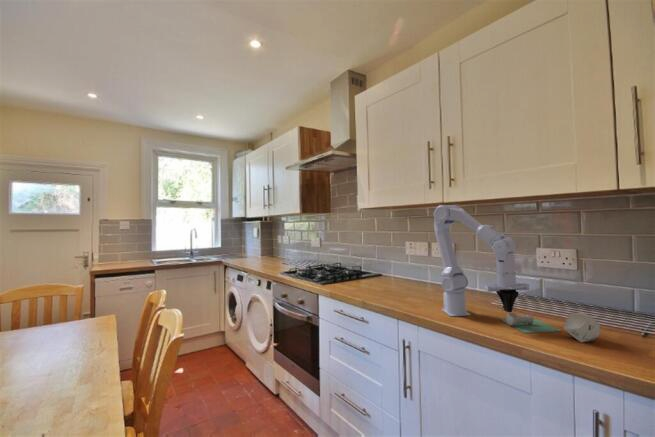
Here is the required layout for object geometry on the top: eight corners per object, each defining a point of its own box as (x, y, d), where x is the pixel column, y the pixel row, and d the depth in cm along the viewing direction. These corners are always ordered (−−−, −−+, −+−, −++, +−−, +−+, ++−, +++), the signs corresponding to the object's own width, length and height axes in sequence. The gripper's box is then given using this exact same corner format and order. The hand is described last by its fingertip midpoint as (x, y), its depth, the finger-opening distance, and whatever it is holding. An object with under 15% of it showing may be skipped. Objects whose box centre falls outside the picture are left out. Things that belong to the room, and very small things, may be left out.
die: (561, 342, 92) (579, 322, 87) (555, 320, 99) (572, 301, 93) (591, 353, 90) (612, 334, 85) (583, 330, 97) (602, 311, 91)
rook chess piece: (506, 310, 107) (528, 310, 108) (504, 321, 108) (525, 321, 109) (514, 316, 103) (537, 317, 103) (512, 328, 104) (534, 328, 104)
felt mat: (500, 319, 113) (500, 319, 113) (532, 318, 113) (532, 317, 113) (524, 333, 99) (524, 332, 99) (561, 331, 99) (561, 330, 99)
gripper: (491, 275, 102) (494, 315, 102) (534, 273, 102) (536, 313, 102) (480, 272, 109) (483, 309, 109) (520, 269, 109) (523, 307, 109)
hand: (508, 311), depth 106 cm, fingers closed
